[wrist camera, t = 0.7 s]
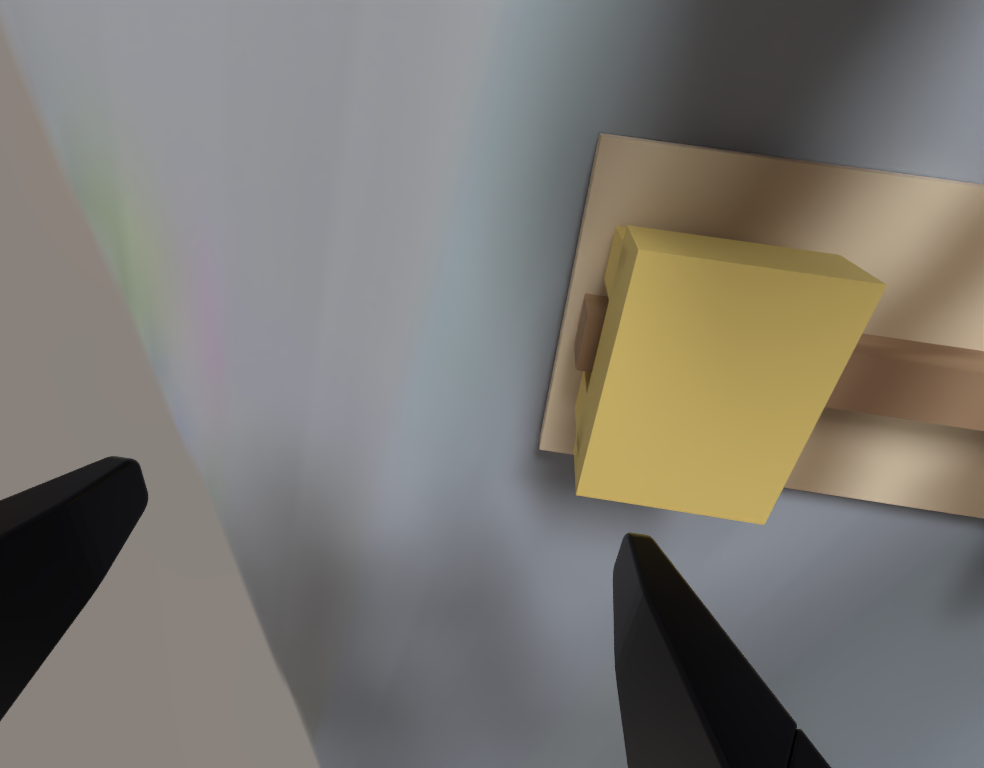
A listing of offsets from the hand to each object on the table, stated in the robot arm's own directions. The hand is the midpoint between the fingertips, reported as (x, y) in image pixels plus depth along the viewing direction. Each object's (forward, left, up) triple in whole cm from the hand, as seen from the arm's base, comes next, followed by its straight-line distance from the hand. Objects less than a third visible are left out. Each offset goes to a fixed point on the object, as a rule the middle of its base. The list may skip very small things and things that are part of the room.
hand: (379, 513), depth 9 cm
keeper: (-8, +1, -11) cm, 13 cm away
